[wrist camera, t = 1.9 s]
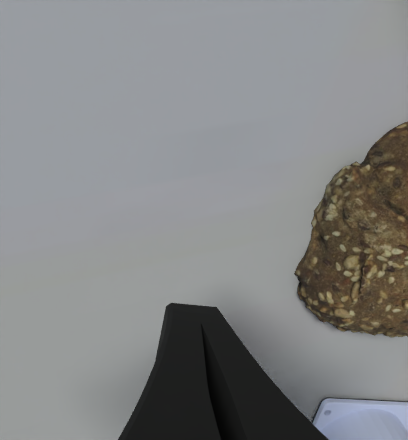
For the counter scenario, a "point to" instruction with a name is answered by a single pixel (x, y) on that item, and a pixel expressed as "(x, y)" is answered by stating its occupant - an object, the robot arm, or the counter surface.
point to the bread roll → (362, 244)
